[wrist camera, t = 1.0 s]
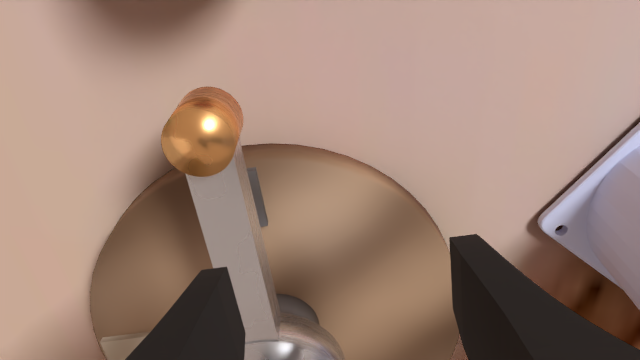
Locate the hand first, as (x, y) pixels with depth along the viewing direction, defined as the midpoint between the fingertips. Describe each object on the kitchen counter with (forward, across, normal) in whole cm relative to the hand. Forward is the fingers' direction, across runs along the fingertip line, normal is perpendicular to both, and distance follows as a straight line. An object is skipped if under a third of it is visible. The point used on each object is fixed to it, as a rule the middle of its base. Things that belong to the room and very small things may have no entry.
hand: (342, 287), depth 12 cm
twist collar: (+6, +3, +4) cm, 8 cm away
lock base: (+9, +4, +8) cm, 13 cm away
